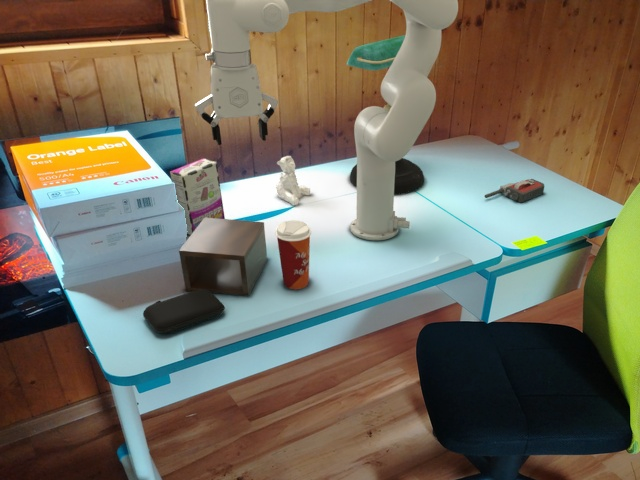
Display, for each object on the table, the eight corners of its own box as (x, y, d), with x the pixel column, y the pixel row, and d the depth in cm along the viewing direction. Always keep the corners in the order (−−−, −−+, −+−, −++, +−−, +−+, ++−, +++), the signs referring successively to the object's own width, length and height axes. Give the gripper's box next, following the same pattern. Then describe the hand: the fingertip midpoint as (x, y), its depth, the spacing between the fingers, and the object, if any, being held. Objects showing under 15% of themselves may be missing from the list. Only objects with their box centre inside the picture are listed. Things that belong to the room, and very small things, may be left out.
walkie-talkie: (524, 183, 195) (481, 199, 184) (526, 170, 193) (483, 185, 181) (547, 193, 190) (504, 210, 179) (549, 179, 187) (506, 195, 176)
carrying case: (206, 293, 137) (139, 315, 129) (204, 281, 135) (136, 303, 127) (228, 315, 130) (159, 340, 122) (227, 303, 128) (156, 328, 120)
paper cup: (307, 294, 138) (304, 237, 130) (274, 289, 139) (269, 232, 131) (317, 276, 145) (315, 221, 136) (286, 271, 146) (282, 217, 137)
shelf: (267, 259, 150) (264, 222, 144) (248, 296, 137) (244, 256, 131) (209, 255, 150) (204, 217, 144) (185, 290, 137) (178, 250, 131)
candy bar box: (212, 216, 167) (203, 157, 157) (225, 221, 165) (218, 161, 155) (179, 232, 159) (168, 170, 149) (193, 237, 157) (183, 175, 147)
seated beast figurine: (295, 206, 174) (293, 165, 167) (268, 200, 177) (265, 159, 170) (312, 194, 181) (310, 154, 174) (286, 188, 184) (283, 148, 177)
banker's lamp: (383, 159, 207) (387, 27, 184) (441, 177, 196) (453, 40, 173) (330, 182, 189) (327, 40, 166) (391, 204, 178) (397, 55, 155)
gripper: (191, 65, 122) (203, 150, 132) (278, 60, 128) (284, 142, 138) (185, 56, 127) (198, 138, 137) (269, 52, 133) (275, 131, 143)
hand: (241, 140), depth 137 cm, fingers open, 9 cm apart
